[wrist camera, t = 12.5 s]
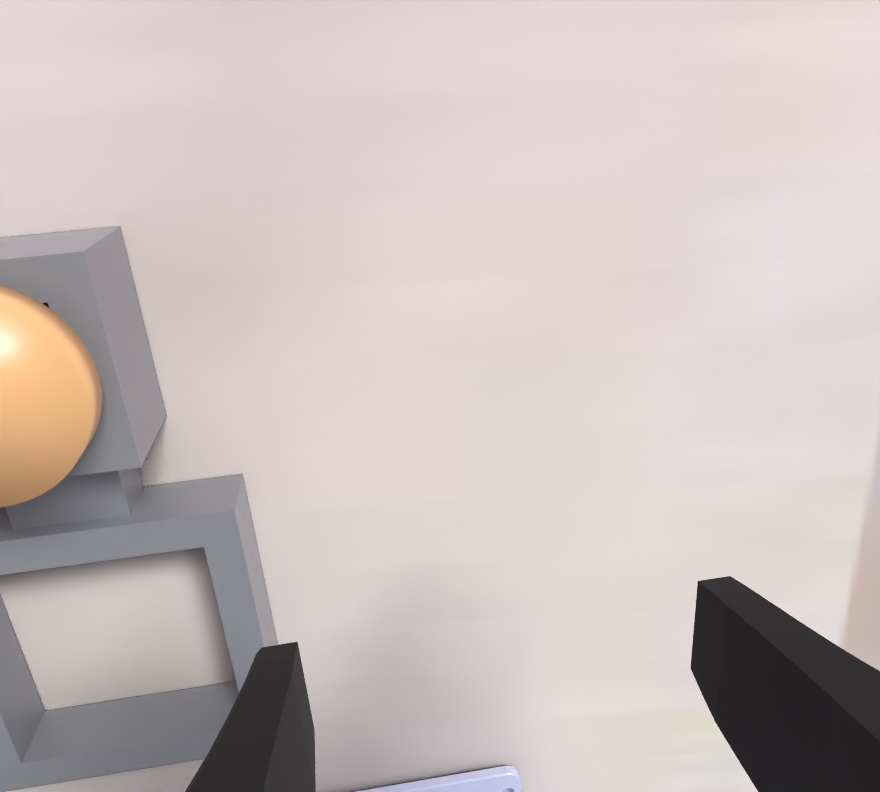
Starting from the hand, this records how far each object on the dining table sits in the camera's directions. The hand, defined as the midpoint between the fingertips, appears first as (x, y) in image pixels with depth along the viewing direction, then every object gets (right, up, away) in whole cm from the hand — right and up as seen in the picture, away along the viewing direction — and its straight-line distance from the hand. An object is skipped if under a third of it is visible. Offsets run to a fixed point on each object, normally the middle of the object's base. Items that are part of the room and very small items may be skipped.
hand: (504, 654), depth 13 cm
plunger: (-11, +6, +5) cm, 14 cm away
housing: (-11, +2, +8) cm, 14 cm away
